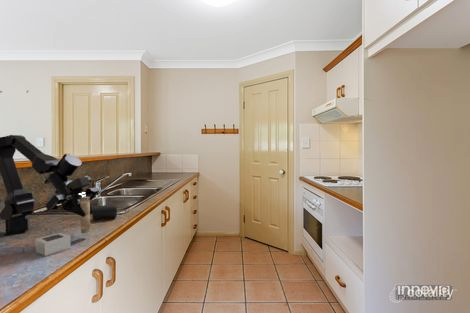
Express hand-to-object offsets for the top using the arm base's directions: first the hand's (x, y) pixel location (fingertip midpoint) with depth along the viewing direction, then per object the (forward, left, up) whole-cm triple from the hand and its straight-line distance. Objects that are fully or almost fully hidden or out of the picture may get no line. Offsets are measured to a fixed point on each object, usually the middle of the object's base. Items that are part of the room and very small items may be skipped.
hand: (88, 214), depth 90 cm
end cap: (+4, +25, -9) cm, 27 cm away
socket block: (-10, -6, -9) cm, 15 cm away
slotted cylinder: (-1, +1, -7) cm, 7 cm away
